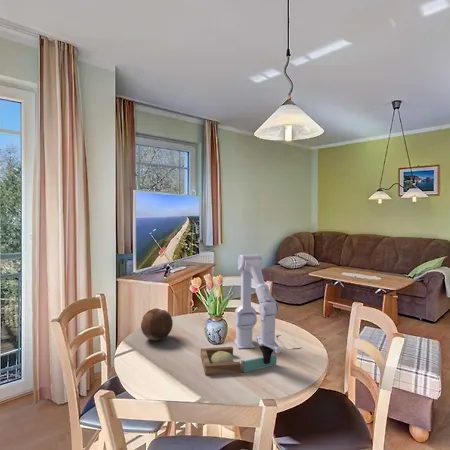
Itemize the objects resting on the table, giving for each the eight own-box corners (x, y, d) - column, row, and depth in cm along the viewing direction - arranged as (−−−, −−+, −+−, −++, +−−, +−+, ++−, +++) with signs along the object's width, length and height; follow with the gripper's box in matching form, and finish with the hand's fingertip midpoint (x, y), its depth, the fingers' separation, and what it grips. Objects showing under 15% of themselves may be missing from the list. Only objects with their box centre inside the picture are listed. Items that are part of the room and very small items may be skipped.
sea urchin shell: (218, 352, 144) (229, 342, 140) (228, 368, 141) (239, 359, 137) (205, 359, 137) (215, 350, 133) (215, 376, 134) (226, 367, 130)
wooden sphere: (177, 335, 166) (177, 306, 165) (164, 347, 151) (164, 315, 150) (149, 331, 169) (150, 303, 169) (134, 343, 155) (135, 312, 154)
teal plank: (241, 372, 130) (241, 362, 129) (239, 370, 131) (240, 360, 131) (276, 364, 137) (277, 354, 137) (274, 363, 138) (275, 353, 138)
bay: (200, 356, 143) (200, 348, 143) (232, 354, 146) (232, 346, 146) (205, 375, 128) (205, 366, 127) (240, 372, 130) (240, 363, 130)
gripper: (249, 326, 138) (248, 357, 139) (270, 338, 125) (269, 373, 126) (263, 323, 141) (262, 354, 142) (285, 335, 129) (284, 369, 129)
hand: (266, 363), depth 134 cm, fingers closed
